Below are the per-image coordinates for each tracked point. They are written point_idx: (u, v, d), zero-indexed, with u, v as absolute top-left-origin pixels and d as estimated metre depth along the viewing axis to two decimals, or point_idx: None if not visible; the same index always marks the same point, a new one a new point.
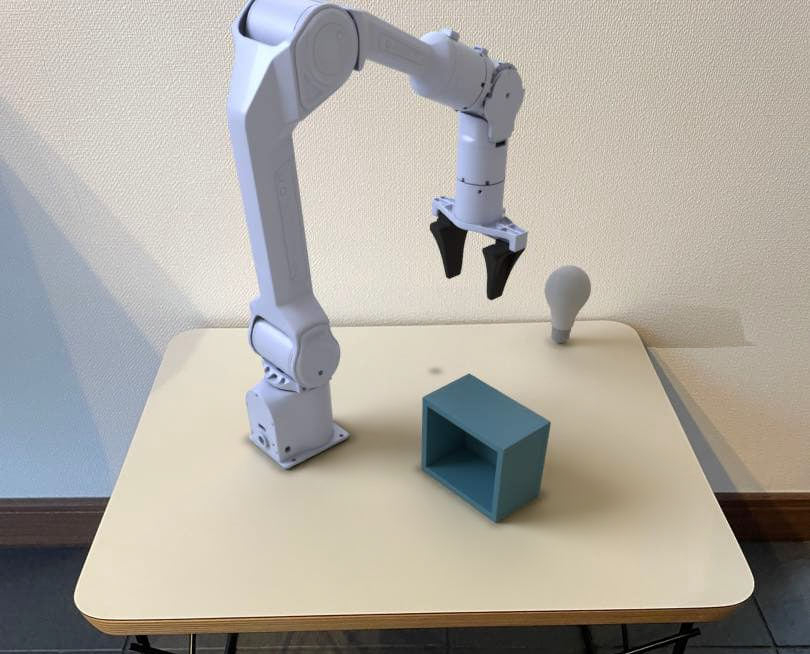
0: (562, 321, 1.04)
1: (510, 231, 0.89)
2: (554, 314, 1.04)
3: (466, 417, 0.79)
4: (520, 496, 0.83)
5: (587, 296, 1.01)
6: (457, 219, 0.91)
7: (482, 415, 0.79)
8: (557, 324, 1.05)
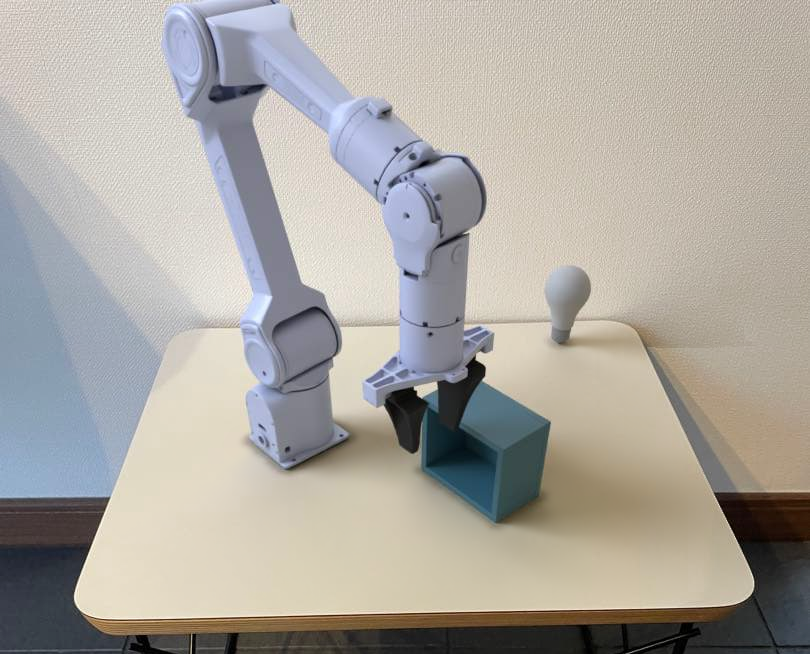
0: (562, 321, 1.04)
1: None
2: (554, 314, 1.04)
3: (466, 417, 0.79)
4: (520, 496, 0.83)
5: (587, 296, 1.01)
6: None
7: (482, 415, 0.79)
8: (557, 324, 1.05)
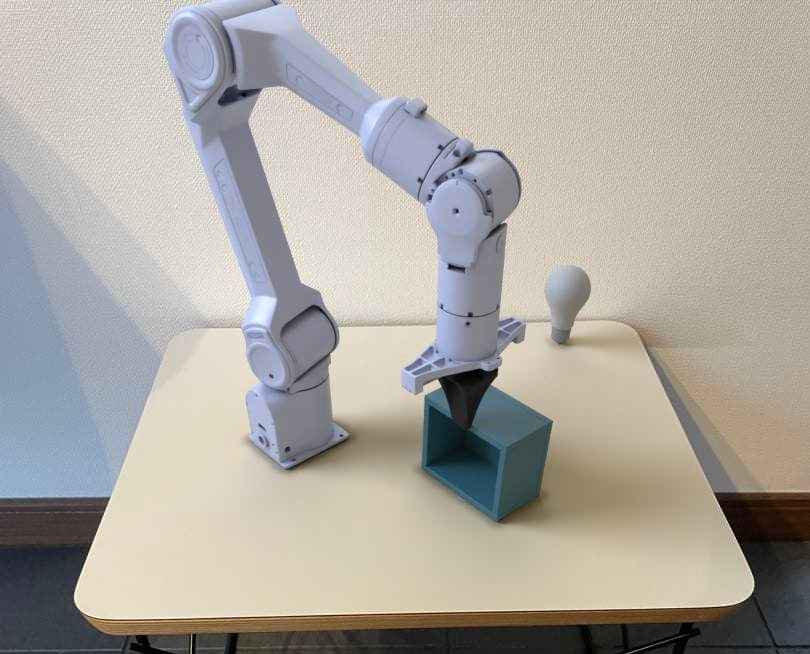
0: (562, 321, 1.04)
1: None
2: (554, 314, 1.04)
3: None
4: (521, 495, 0.82)
5: (587, 296, 1.01)
6: None
7: (485, 414, 0.79)
8: (557, 324, 1.05)
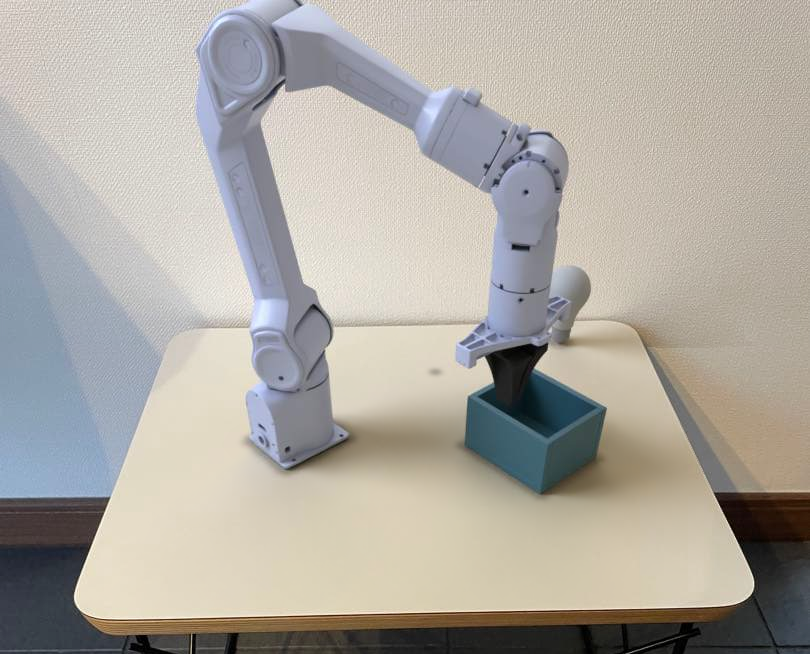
0: (562, 321, 1.04)
1: None
2: None
3: None
4: (554, 464, 0.84)
5: (587, 296, 1.01)
6: None
7: None
8: (557, 324, 1.05)
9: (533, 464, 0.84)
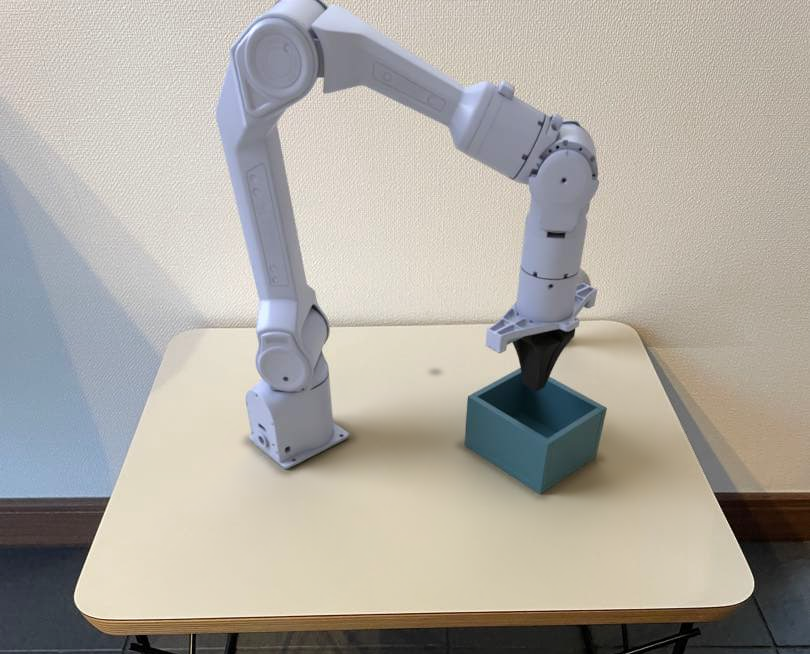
0: None
1: None
2: None
3: None
4: (554, 464, 0.84)
5: None
6: None
7: None
8: None
9: (533, 464, 0.84)
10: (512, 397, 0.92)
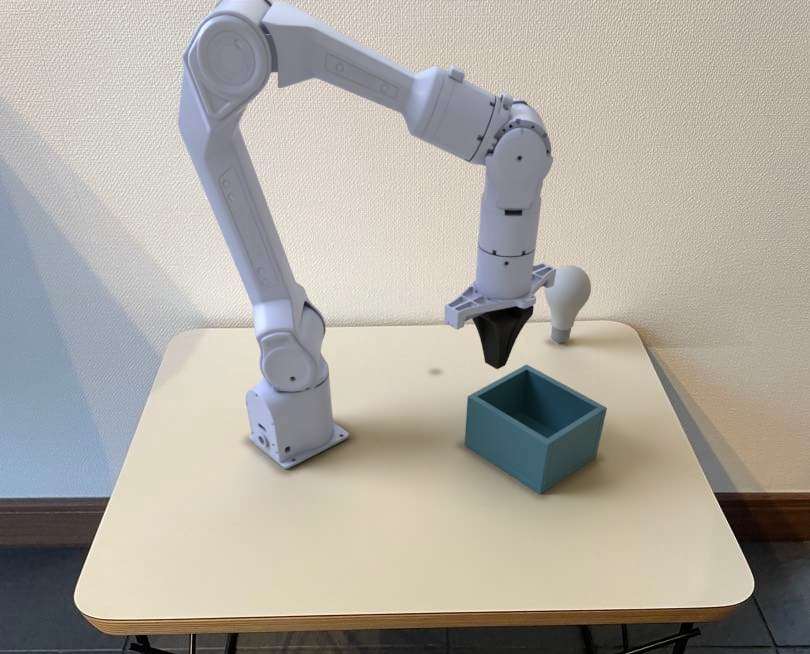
0: (562, 321, 1.04)
1: None
2: (554, 314, 1.04)
3: None
4: (554, 464, 0.84)
5: (587, 296, 1.01)
6: None
7: None
8: (557, 324, 1.05)
9: (533, 464, 0.84)
10: (512, 397, 0.92)
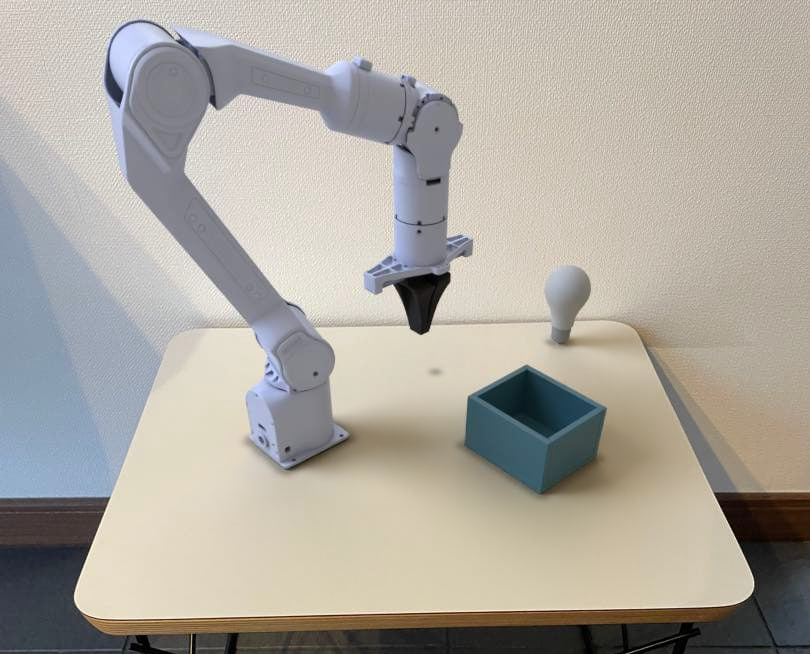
0: (562, 321, 1.04)
1: None
2: (554, 314, 1.04)
3: None
4: (554, 464, 0.84)
5: (587, 296, 1.01)
6: None
7: None
8: (557, 324, 1.05)
9: (533, 464, 0.84)
10: (512, 397, 0.92)
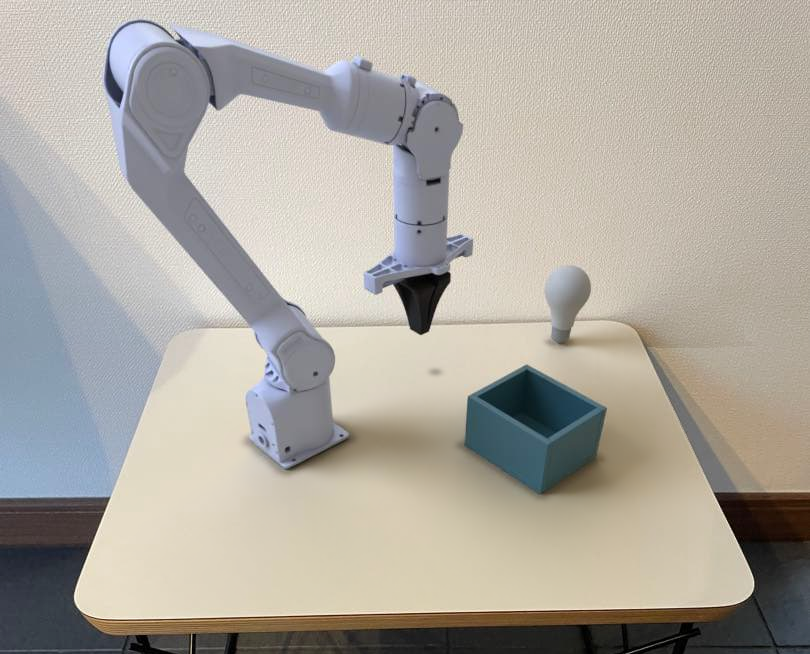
0: (562, 321, 1.04)
1: None
2: (554, 314, 1.04)
3: None
4: (554, 464, 0.84)
5: (587, 296, 1.01)
6: None
7: None
8: (557, 324, 1.05)
9: (533, 464, 0.84)
10: (512, 397, 0.92)
